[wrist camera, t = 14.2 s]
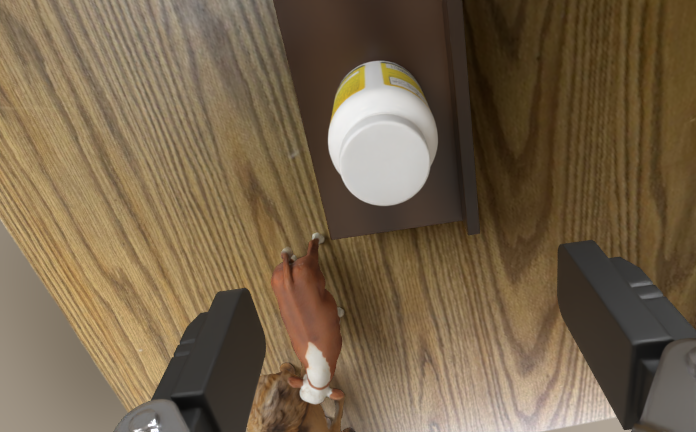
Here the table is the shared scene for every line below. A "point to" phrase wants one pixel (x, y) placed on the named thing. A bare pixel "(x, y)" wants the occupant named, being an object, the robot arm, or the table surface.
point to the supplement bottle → (382, 134)
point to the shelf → (426, 67)
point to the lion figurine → (289, 407)
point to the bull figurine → (309, 321)
